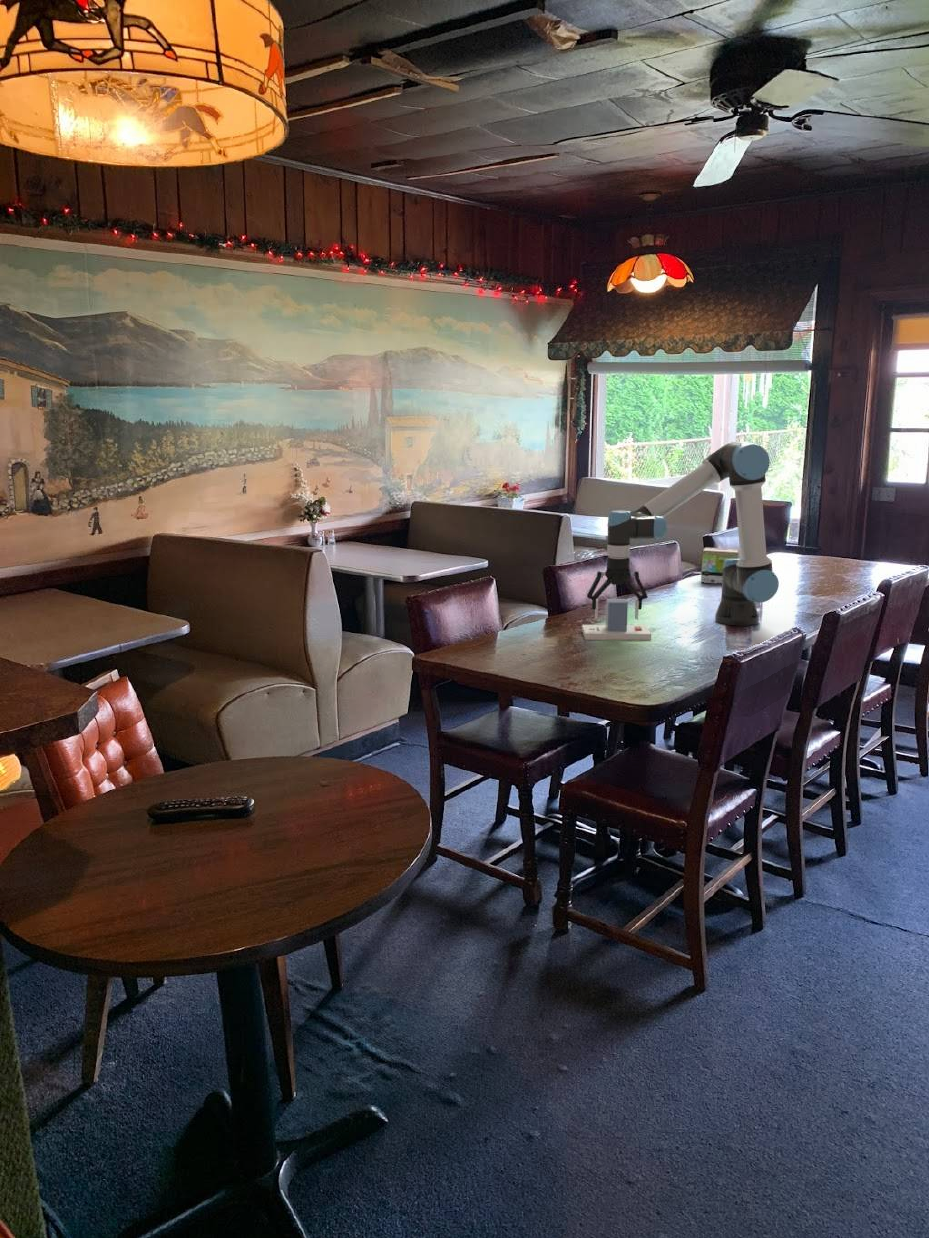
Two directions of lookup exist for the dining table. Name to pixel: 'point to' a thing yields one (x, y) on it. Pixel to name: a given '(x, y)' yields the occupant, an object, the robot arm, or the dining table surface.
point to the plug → (616, 615)
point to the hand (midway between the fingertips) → (616, 618)
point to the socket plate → (616, 633)
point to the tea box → (715, 563)
